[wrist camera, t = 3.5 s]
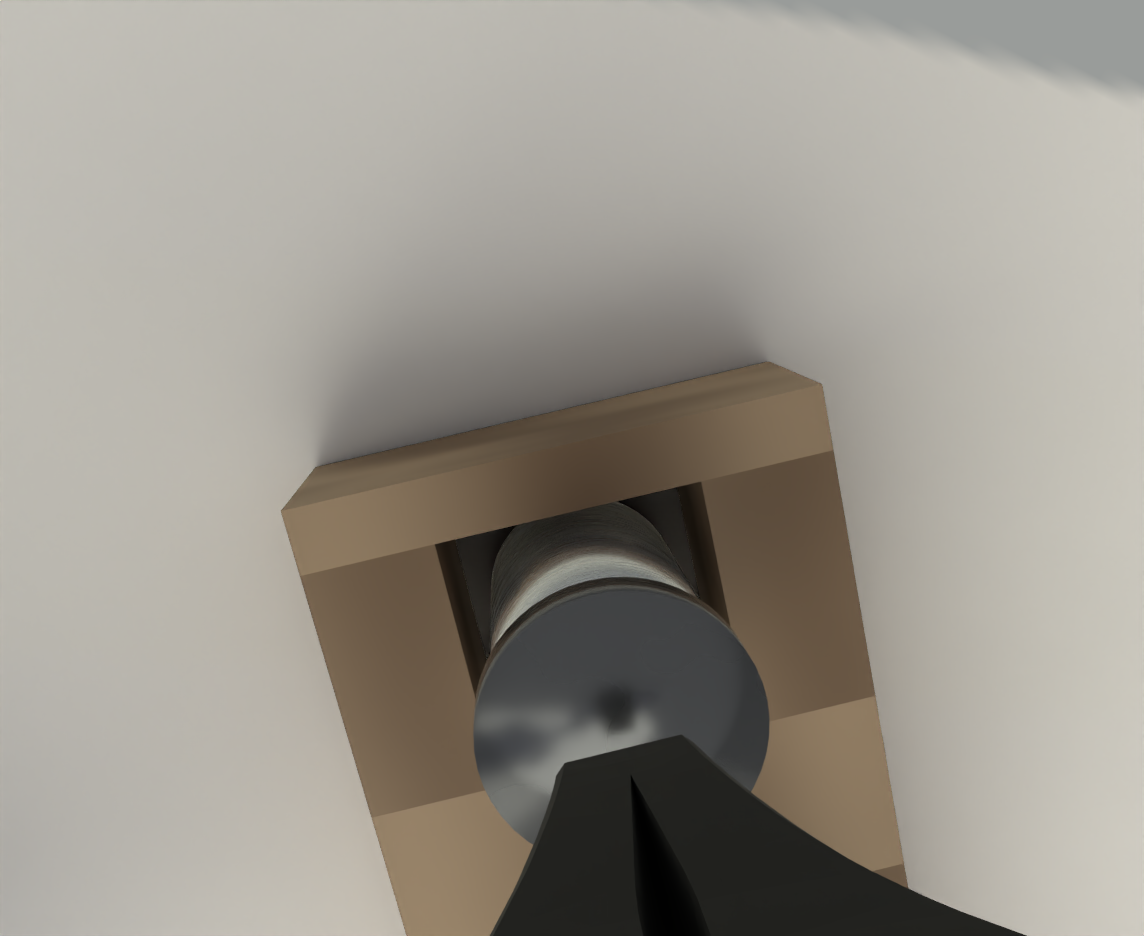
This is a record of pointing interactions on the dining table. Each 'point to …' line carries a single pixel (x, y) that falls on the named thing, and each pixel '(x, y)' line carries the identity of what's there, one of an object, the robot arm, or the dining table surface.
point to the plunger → (604, 660)
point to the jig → (557, 486)
